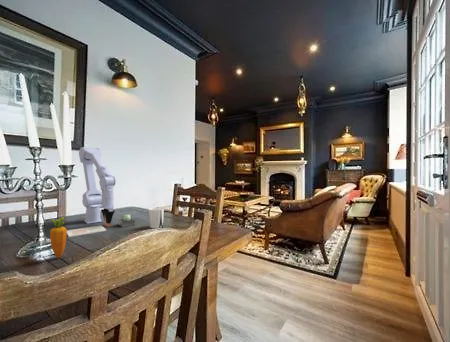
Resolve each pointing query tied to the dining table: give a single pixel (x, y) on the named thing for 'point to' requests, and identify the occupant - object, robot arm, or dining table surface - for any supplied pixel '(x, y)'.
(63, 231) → the carrot
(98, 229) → the picture sheet
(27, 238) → the dining table surface
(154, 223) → the white cup
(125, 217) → the button
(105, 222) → the marker
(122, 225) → the frame
